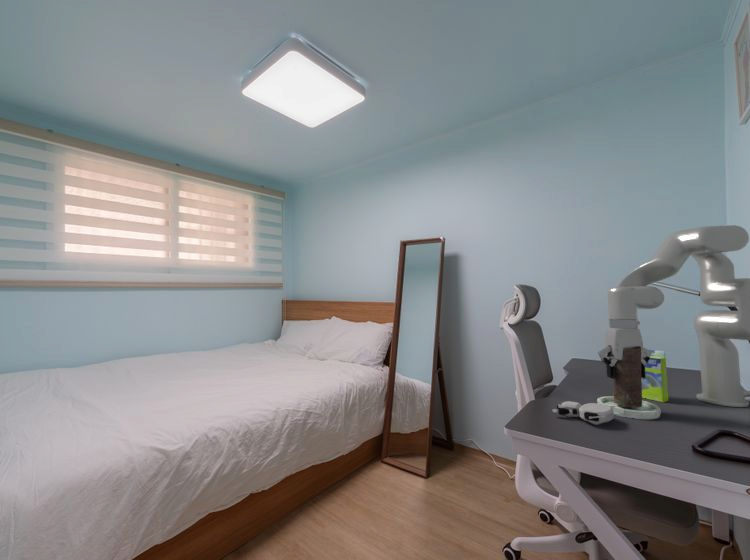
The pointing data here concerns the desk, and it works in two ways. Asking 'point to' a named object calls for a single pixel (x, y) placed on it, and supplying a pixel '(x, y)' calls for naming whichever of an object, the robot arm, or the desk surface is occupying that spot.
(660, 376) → the box
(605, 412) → the robot toy
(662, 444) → the desk surface
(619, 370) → the rusty brown cylinder
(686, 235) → the robot arm
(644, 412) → the dish
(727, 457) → the desk surface
